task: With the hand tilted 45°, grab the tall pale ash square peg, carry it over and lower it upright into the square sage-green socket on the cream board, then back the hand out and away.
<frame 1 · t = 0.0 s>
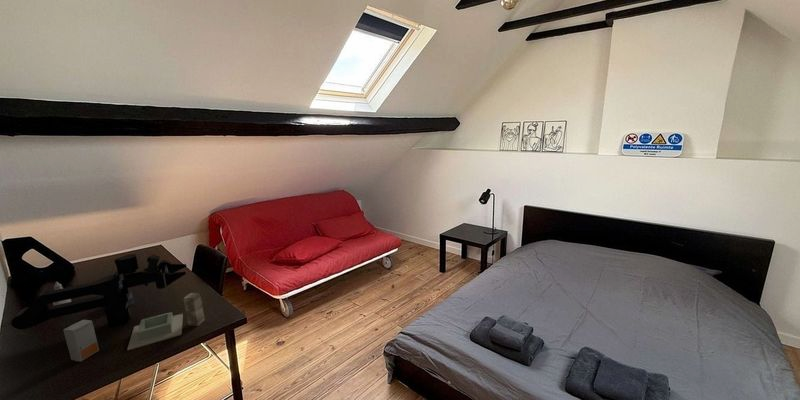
hand: (186, 268, 142), 17 cm above the table, tool horizontal, fingers open, 9 cm apart
socket board: (157, 331, 125), on the table
ash peg: (196, 322, 130), on the table
eye dropper bottle: (63, 307, 145), on the table
label tape cartridge: (127, 302, 147), on the table
skincare box: (86, 355, 113), on the table
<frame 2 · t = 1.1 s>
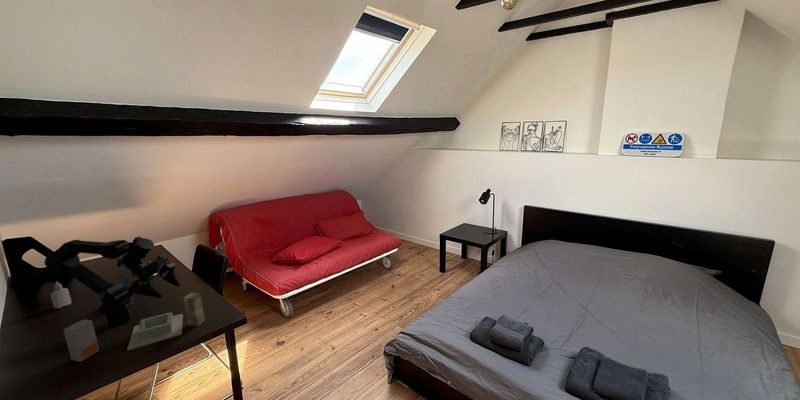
hand: (170, 291, 128), 14 cm above the table, tool tilted 45°, fingers open, 9 cm apart
nothing on the table moved.
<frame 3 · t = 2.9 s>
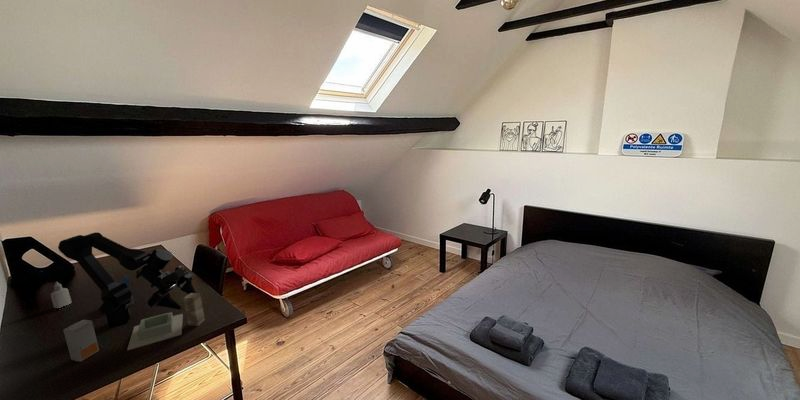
hand: (188, 302, 128), 9 cm above the table, tool tilted 45°, fingers open, 9 cm apart
nothing on the table moved.
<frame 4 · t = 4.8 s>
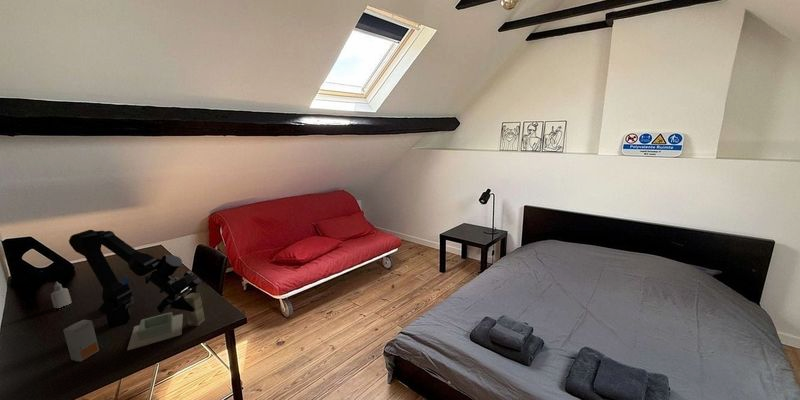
hand: (197, 307, 129), 7 cm above the table, tool tilted 45°, fingers closed on ash peg, 4 cm apart
ash peg: (196, 322, 130), on the table, touching gripper
everything else where it was.
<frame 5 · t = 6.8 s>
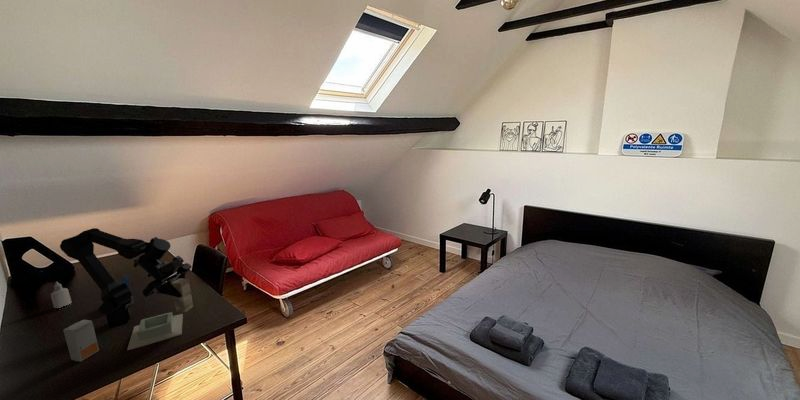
hand: (185, 293, 126), 14 cm above the table, tool tilted 45°, fingers closed on ash peg, 4 cm apart
ash peg: (184, 308, 127), point 7 cm above the table, touching gripper
everything else where it was.
when the fingers open (9 cm above the table, at t = 9.2 s): ash peg drops 1 cm, resting on socket board.
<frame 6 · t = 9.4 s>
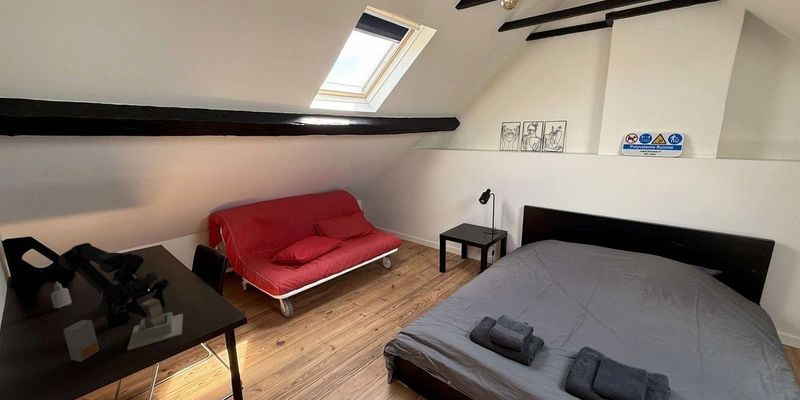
hand: (155, 311, 123), 9 cm above the table, tool tilted 45°, fingers open, 6 cm apart
ash peg: (157, 329, 125), point 1 cm above the table, touching socket board
everything else where it was.
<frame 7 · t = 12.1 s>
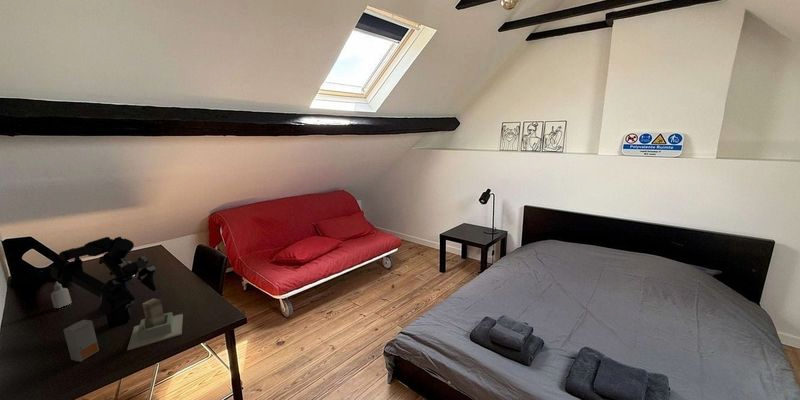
hand: (144, 295, 126), 14 cm above the table, tool tilted 40°, fingers open, 9 cm apart
nothing on the table moved.
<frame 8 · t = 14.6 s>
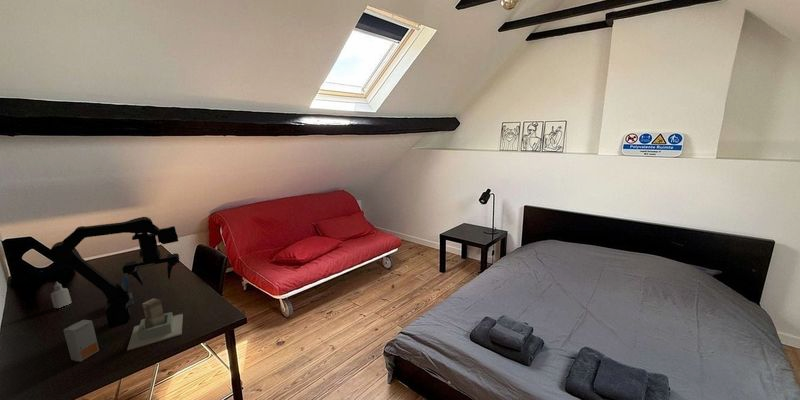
hand: (156, 281, 138), 13 cm above the table, tool pointing down, fingers open, 9 cm apart
nothing on the table moved.
at the end: ash peg 0.1 cm off-centre on the socket board, point 0.6 cm above the socket board's base; ash peg tilted 0°; the gripper is holding nothing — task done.
